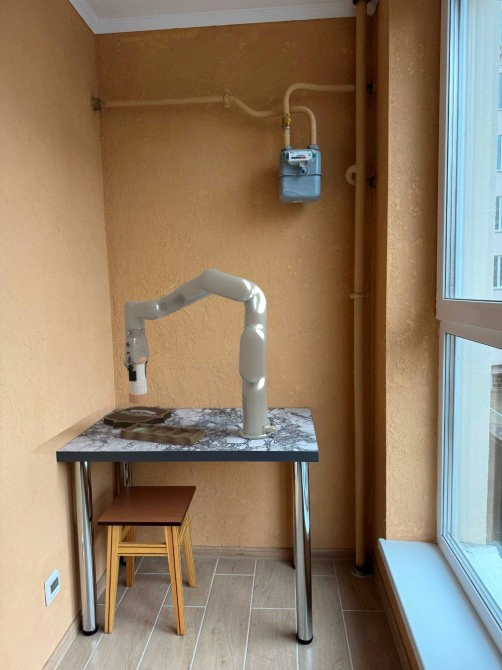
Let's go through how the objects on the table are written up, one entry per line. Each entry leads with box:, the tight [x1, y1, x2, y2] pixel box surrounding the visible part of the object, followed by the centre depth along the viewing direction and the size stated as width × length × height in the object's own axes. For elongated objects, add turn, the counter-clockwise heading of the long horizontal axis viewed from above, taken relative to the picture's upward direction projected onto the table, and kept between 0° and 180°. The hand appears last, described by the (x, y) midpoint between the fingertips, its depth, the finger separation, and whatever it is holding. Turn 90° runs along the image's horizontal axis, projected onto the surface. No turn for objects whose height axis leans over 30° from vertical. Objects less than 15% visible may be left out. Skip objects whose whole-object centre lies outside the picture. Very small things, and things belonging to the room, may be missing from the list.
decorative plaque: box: [103, 405, 172, 430], centre depth 206 cm, size 30×3×30 cm
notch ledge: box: [119, 423, 206, 447], centre depth 179 cm, size 31×11×3 cm, turn 68°
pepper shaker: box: [128, 357, 149, 405], centre depth 180 cm, size 7×7×19 cm
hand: (137, 379), depth 180 cm, fingers closed on pepper shaker, 5 cm apart
